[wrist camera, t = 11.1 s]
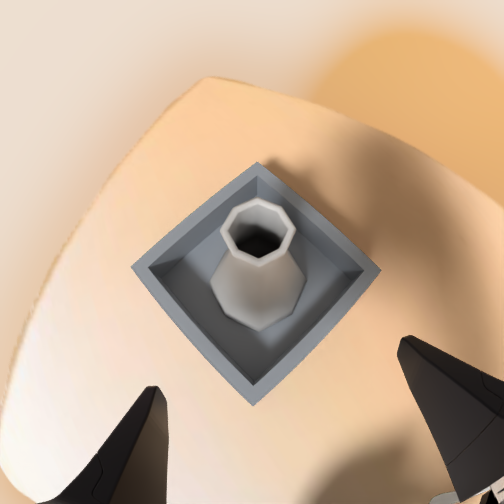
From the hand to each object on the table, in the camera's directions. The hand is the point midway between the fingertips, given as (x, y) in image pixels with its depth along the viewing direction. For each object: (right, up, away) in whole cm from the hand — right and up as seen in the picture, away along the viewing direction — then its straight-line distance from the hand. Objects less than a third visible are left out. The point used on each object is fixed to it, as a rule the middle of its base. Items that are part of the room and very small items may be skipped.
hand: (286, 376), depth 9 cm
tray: (-1, +2, +14) cm, 14 cm away
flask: (-1, +2, +13) cm, 13 cm away
